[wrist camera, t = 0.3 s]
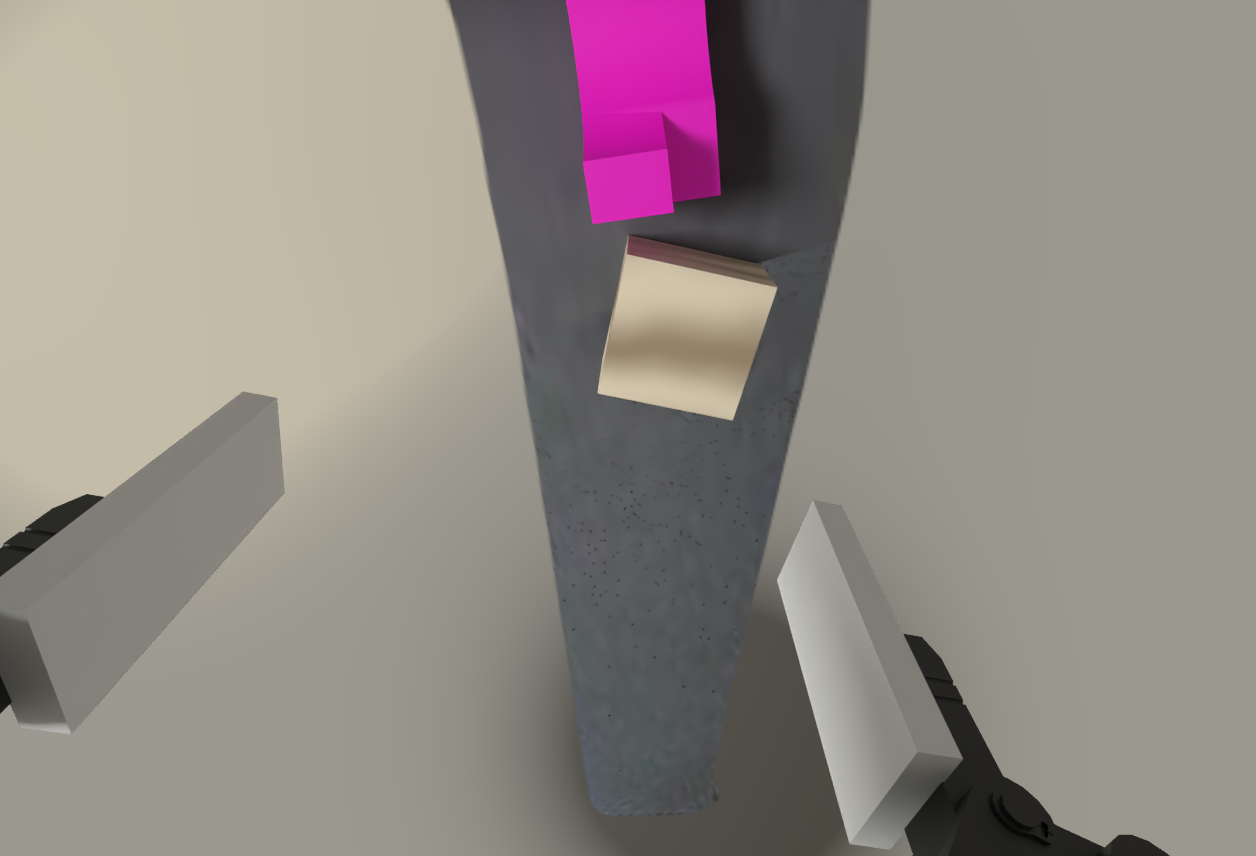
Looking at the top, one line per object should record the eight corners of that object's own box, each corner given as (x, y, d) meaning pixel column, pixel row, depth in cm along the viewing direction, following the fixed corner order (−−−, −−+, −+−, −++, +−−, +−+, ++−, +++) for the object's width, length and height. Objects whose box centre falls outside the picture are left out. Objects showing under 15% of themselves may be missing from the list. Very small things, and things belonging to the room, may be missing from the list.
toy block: (711, 183, 34) (728, 204, 28) (601, 200, 35) (592, 224, 28) (686, -173, 27) (701, -260, 20) (549, -147, 28) (520, -223, 21)
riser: (628, 234, 35) (627, 254, 31) (760, 264, 36) (777, 287, 32) (602, 360, 39) (597, 393, 35) (722, 384, 40) (732, 420, 35)
